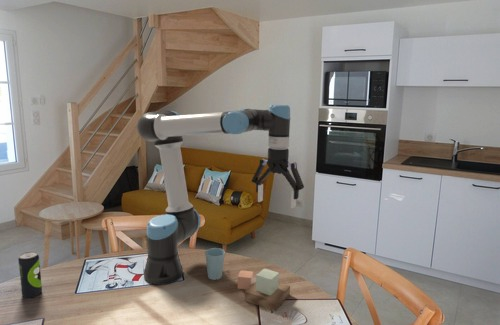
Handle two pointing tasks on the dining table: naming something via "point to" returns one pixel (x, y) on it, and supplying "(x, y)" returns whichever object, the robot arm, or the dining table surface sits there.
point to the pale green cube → (267, 281)
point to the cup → (215, 262)
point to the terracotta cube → (245, 279)
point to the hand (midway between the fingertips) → (276, 204)
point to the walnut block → (267, 297)
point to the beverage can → (30, 274)
